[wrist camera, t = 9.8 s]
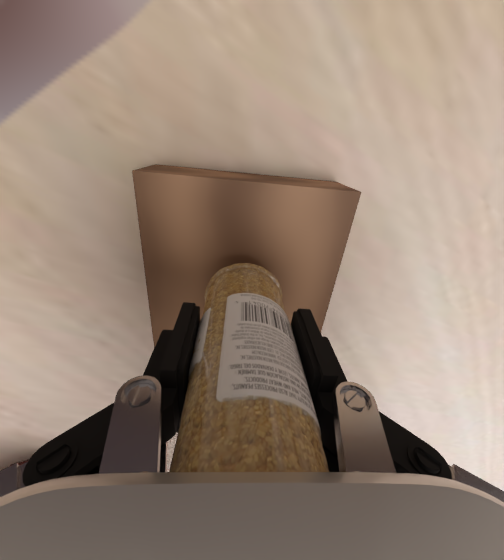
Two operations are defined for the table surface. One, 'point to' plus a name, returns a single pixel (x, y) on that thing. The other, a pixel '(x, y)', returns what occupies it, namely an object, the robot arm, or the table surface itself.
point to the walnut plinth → (239, 235)
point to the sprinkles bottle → (247, 384)
